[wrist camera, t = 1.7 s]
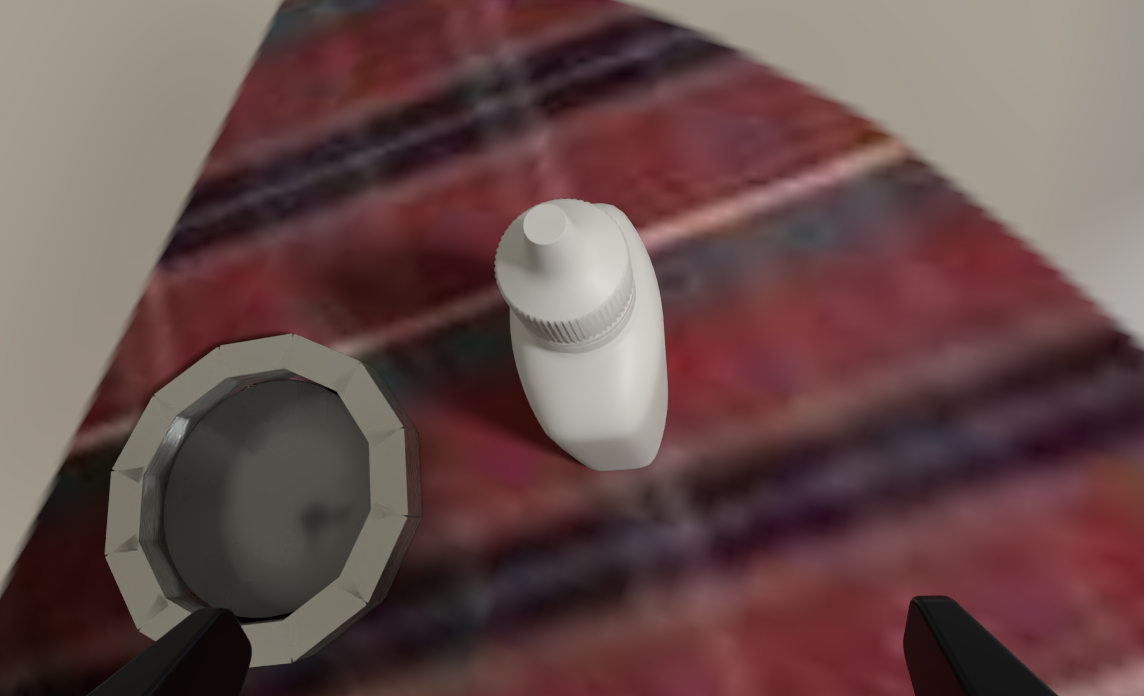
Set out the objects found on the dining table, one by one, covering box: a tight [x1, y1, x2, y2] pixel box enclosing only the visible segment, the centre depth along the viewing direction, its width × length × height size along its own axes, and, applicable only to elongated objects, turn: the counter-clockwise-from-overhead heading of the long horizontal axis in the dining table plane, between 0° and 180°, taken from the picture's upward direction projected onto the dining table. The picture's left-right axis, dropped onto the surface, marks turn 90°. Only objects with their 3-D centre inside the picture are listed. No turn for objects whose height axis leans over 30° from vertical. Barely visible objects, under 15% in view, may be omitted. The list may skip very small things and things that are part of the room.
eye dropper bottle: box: [494, 198, 668, 471], centre depth 16 cm, size 4×6×12 cm
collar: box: [105, 334, 422, 667], centre depth 22 cm, size 10×10×1 cm
